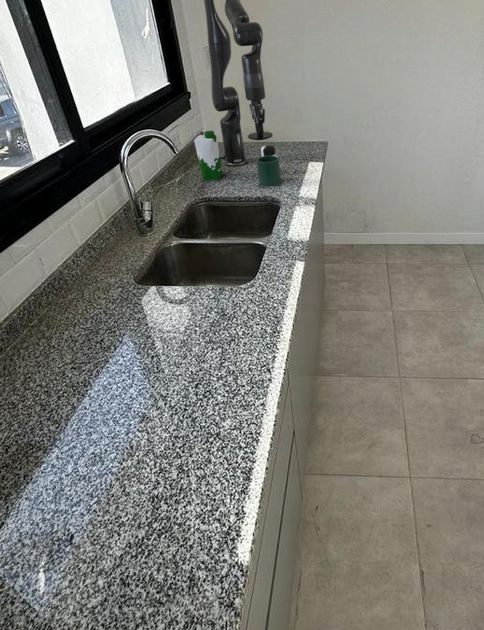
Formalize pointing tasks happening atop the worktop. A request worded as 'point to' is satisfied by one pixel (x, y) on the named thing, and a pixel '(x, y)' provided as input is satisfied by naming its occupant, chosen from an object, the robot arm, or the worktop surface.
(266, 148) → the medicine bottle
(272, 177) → the tin
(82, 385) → the worktop surface
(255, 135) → the lid
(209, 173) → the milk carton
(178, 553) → the worktop surface
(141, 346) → the worktop surface
